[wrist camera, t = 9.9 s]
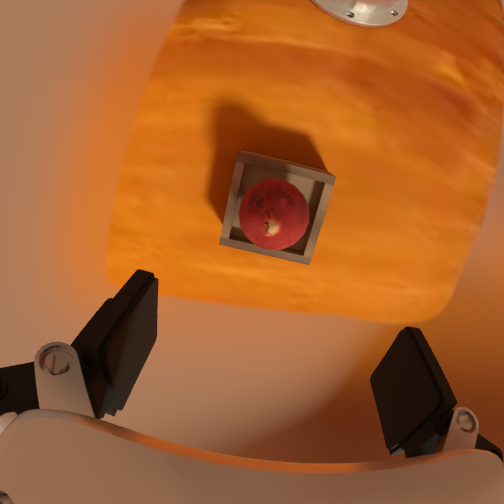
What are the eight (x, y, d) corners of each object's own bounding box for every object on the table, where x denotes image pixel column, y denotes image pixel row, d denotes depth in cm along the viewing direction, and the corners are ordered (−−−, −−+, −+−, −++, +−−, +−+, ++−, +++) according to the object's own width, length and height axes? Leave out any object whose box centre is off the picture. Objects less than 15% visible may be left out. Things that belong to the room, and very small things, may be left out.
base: (242, 149, 28) (237, 152, 24) (327, 170, 28) (335, 177, 24) (226, 230, 31) (219, 244, 27) (304, 248, 31) (308, 264, 28)
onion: (235, 192, 27) (214, 206, 19) (290, 166, 25) (290, 169, 18) (262, 245, 28) (252, 278, 20) (315, 221, 26) (326, 247, 19)
